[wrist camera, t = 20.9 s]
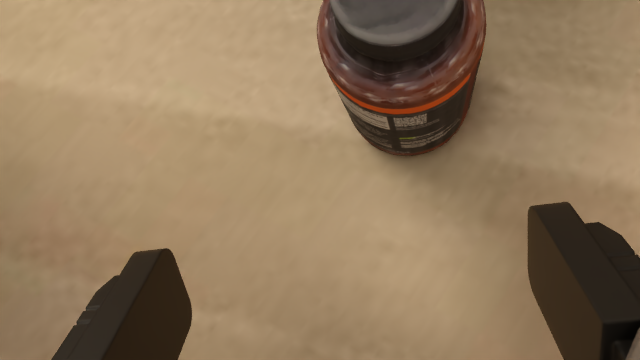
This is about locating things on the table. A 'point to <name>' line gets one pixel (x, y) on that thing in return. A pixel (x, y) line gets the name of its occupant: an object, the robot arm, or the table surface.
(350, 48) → the supplement bottle
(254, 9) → the table surface
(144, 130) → the table surface
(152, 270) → the robot arm
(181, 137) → the table surface
